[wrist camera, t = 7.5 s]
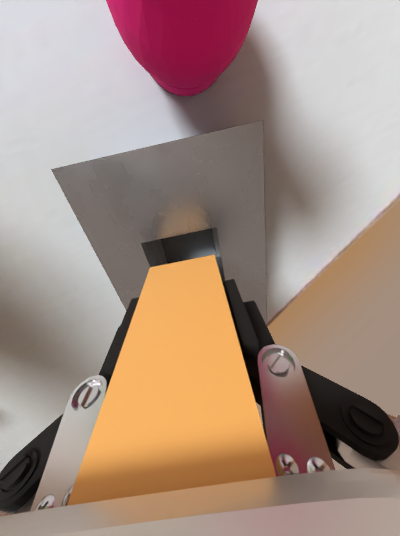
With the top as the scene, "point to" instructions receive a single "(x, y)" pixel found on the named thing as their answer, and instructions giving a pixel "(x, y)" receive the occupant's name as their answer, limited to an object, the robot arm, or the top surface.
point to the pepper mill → (183, 38)
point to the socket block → (176, 206)
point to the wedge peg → (176, 396)
